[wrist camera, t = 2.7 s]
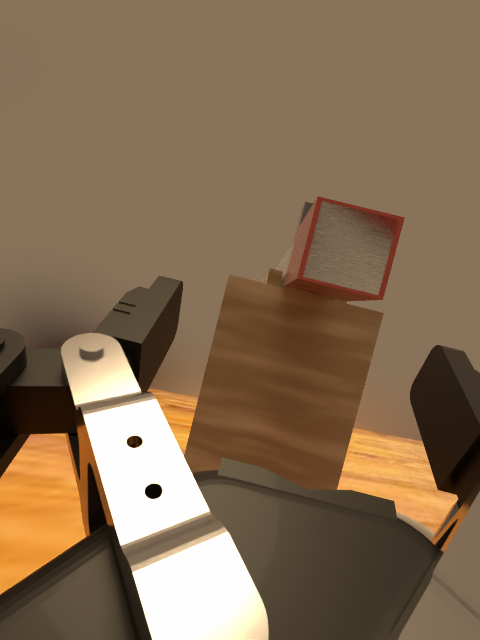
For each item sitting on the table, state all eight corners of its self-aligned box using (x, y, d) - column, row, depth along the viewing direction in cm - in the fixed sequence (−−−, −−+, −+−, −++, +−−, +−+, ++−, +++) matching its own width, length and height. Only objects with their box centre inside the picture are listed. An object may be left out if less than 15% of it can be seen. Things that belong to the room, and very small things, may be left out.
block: (382, 299, 18) (432, 110, 18) (296, 278, 18) (345, 89, 18) (295, 303, 54) (311, 239, 54) (266, 295, 54) (282, 232, 54)
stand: (292, 723, 31) (405, 300, 29) (115, 677, 31) (219, 254, 30) (277, 580, 47) (350, 301, 45) (160, 550, 47) (229, 271, 46)
